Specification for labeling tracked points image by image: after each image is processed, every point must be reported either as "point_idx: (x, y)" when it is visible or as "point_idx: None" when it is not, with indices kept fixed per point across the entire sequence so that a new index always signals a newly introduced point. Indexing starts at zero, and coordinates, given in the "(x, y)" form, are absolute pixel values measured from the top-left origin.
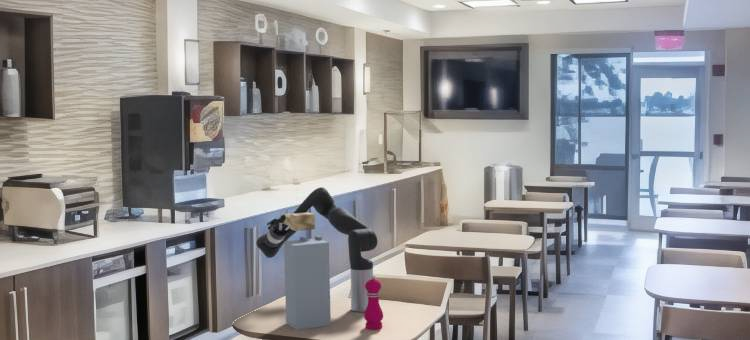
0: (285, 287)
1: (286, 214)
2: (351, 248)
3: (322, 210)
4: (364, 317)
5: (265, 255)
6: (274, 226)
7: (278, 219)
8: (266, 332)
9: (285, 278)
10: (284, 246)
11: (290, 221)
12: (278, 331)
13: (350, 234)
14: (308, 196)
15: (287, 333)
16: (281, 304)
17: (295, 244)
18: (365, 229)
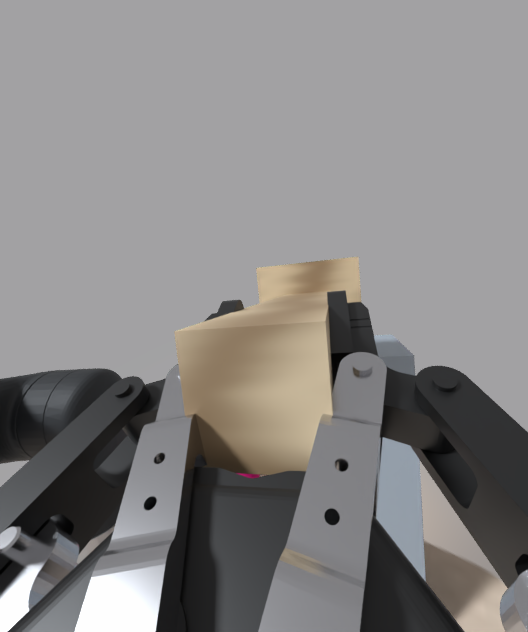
0: (421, 523)
1: (270, 313)
2: (119, 436)
3: None
4: (258, 476)
5: None
6: (467, 526)
7: (389, 372)
8: (502, 584)
9: (419, 489)
10: (414, 373)
11: (360, 295)
12: (460, 573)
13: (106, 387)
14: None
15: (433, 545)
16: None
17: (383, 338)
18: (61, 370)
